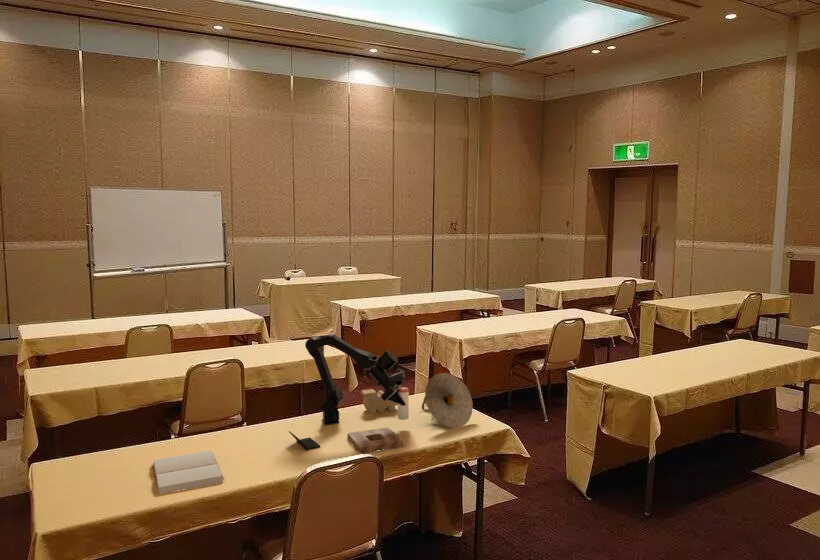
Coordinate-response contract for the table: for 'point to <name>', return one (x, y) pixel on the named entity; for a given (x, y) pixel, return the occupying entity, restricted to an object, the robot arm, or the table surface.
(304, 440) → the black spatula
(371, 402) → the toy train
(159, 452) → the table surface
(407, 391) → the post
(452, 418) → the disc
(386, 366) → the robot arm
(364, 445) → the jig plate
